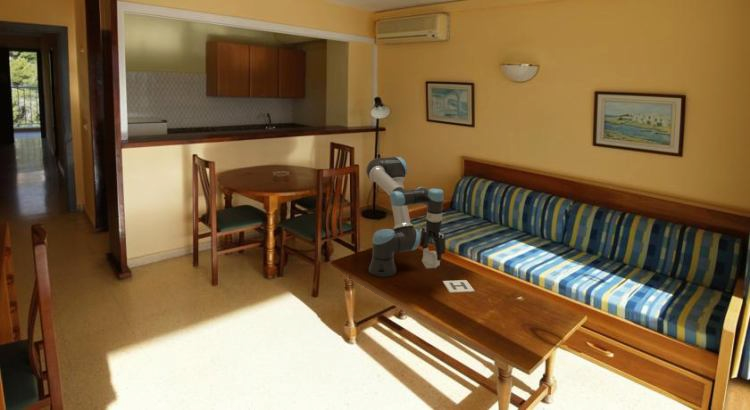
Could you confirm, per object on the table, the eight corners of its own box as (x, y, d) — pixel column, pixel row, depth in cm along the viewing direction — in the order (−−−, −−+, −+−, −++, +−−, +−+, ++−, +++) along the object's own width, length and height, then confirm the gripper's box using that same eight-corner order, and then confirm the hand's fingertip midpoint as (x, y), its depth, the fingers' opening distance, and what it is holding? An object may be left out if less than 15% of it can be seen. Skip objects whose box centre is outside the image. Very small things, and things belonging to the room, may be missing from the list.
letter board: (449, 292, 247) (450, 291, 247) (442, 282, 260) (442, 280, 260) (474, 291, 249) (474, 290, 249) (466, 281, 262) (466, 280, 262)
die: (435, 272, 242) (444, 254, 244) (419, 263, 242) (429, 246, 244) (432, 272, 250) (441, 255, 252) (417, 264, 250) (425, 247, 252)
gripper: (414, 215, 247) (411, 257, 253) (444, 227, 231) (440, 271, 238) (424, 213, 251) (422, 254, 258) (454, 224, 236) (451, 268, 242)
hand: (431, 262), depth 248 cm, fingers closed on die, 8 cm apart
